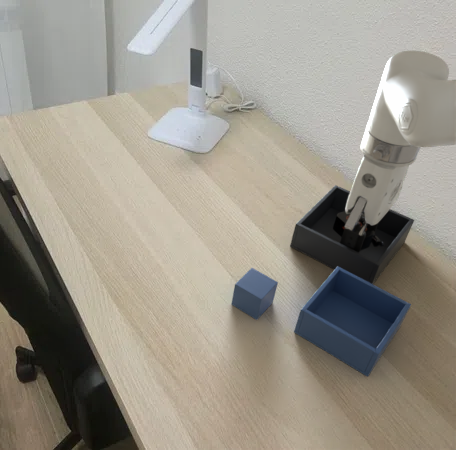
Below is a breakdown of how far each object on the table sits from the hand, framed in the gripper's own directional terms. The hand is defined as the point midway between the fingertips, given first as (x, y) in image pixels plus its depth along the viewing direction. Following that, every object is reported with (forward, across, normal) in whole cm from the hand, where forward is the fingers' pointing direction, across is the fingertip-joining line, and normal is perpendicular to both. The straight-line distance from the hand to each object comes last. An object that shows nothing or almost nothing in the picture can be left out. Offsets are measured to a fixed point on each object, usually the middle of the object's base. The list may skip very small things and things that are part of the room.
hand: (356, 239), depth 88 cm
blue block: (+4, -19, +7) cm, 21 cm away
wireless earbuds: (+1, 0, 0) cm, 1 cm away
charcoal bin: (+4, +3, +2) cm, 5 cm away
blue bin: (+4, -14, -6) cm, 16 cm away
